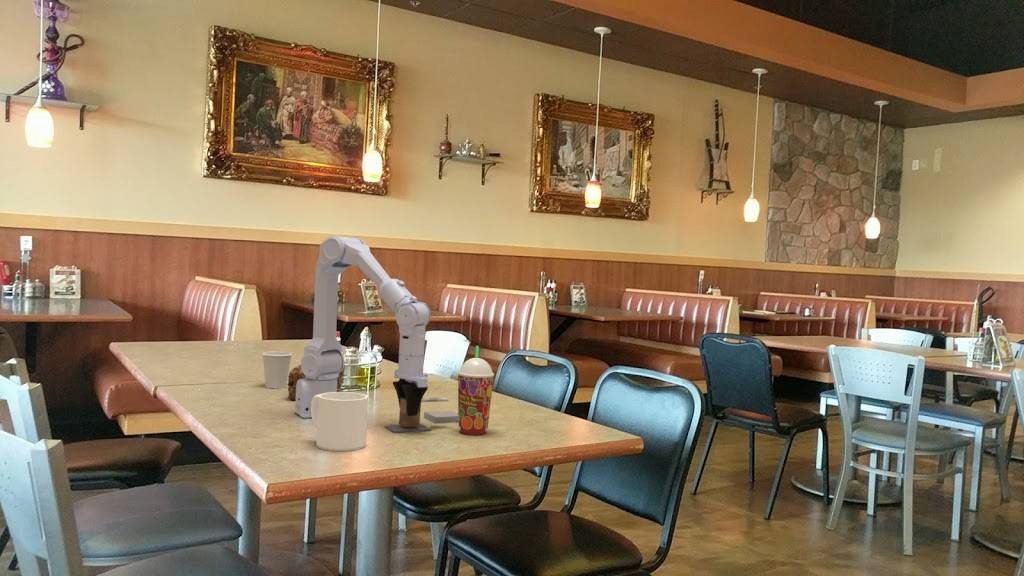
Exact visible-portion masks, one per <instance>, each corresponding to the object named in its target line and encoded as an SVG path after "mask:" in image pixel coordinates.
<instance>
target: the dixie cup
mask: <svg viewBox="0 0 1024 576" xmlns="http://www.w3.org/2000/svg"><path fill="white" fill-rule="evenodd" d="M261 355H262V359H263V372H264V384H265V388H266V387H267V388H266V389H269V388H283V389H286V388H287V385H288V376H289V373H290V371H289V370H290V367H291V360H292V359H291V358H292V355H293V353H292V352H289V351H281V350H280V351H273V350H272V351H271V350H270V351H263V352H262V353H261ZM285 387H286V388H285Z"/></svg>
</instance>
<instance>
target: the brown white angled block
mask: <svg viewBox="0 0 1024 576" xmlns="http://www.w3.org/2000/svg"><path fill="white" fill-rule="evenodd" d="M436 402H437V403H438V402H439V403H440V402H449V398H446V397H443V396H442V397H423V398H422V400H421V403H420V407H419V410H418V413H417V416H408V415H407V408H406V398H401V400H400V407H399V417H398V425H402V426H404V427H417V426H420V424H421V411H422V409H421V408H422V403H436Z"/></svg>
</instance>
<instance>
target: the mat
mask: <svg viewBox="0 0 1024 576" xmlns="http://www.w3.org/2000/svg"><path fill="white" fill-rule="evenodd" d="M384 428H385V429H387V430H388V431H390V432H392V433H393V434H400V433H414V432H428V431H432V428H430V427H428V426H426V425H425V424H423V423H420V426H417V427H404V426H402V425H400V424H391V425H384Z"/></svg>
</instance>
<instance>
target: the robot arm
mask: <svg viewBox="0 0 1024 576" xmlns="http://www.w3.org/2000/svg"><path fill="white" fill-rule="evenodd" d="M316 261H317V262H316V264H315V268H314V269H315V271H314V299H313V300H314V301H313V327H312V328H313V329H312V338H311V340H310V341H309V342H308V343H307V344H306V345H305V346H304V350H303V356H302V358H301V361H300V365H301V369H302V372H303V373H304V375H305V378H306V379H299V380H298V381H297V385H296V401H295V402H294V403H295V406H294V412H295V414H297V415H298V416H300V417H301V418H304V419H305V418H306V419H307V418H312V416H311V402H312V399H313V397H314V396H316V395H320V394H323V393H330V392H337V377H339V373H340V372H341V371H342V372H343V370H344V367H345V357H344V355H343V345H342V344H341V343H340V341H339V340H338V339H337V324H338V323H337V320H338V296H339V295H338V292H339V291H338V290H339V275H341V273H343V272H344V271H345V270H346V269H348V268H349V267H351V266H356V267H358V268H359V269H360V270H361V271H362V272H363V273H364V274H365V276H367V277H368V278H369V279H370V280H371V281H372V282H373V283H374V284H375V285H376V286H377V287H378V288H379V291H378V295H379V297H380V298H381V299H382V301H384V303H385V304H386V305H387V306H388V308H390V309H391V310H392V312H393V313H394V315H395V316H394V318H395V321H396V323H397V325H398V333H399V347H398V349H399V350H398V365H397V366H398V368H397V369H394V379H398V380H397V381H392V386H393V387H394V390H395V392H396V395H397V400H398V405H399V408H400V400H401V398H406V408H407V415H408V416H417V413H418V410H419V407H420V403H421V404H422V402H421V400H422V398H424V396H425V393H426V392H427V391H428V388H429V387H428V378H427V377H428V375H429V374H428V373H425V372H424V365H425V364H424V363H425V361H424V360H425V356H424V355H425V342H426V340H425V339H426V326H427V325H428V324H429V322H430V321H431V316H432V315H431V310H430V307H429V306H428V304H427V303H425V302H423V301H418V298H417V296H416V295H413V294H412V293H411V292H410V291H409V290H408V289H407V288H406V287H405V284H406V283H405V282H404V281H403V280H399V279H398V278H391V277H390V275H389V274H388V273H387V272H386V271H385V269H384V268H383V267H382V265H381V264H380V263H379V262H378V260H377V259H376V258H375V257H374V255H373V254H372V252H371V249H370V246H369V245H367V244H366V243H365V242H364V240H362V239H361V238H359V237H357V236H356V237H348V236H346V237H345V236H338V235H329V236H328V237H326V238H325V239H324V240H322V242H321V243H320V244H319V256H318V259H317V260H316Z"/></svg>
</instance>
